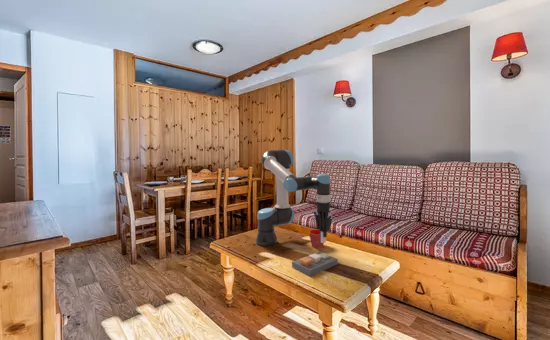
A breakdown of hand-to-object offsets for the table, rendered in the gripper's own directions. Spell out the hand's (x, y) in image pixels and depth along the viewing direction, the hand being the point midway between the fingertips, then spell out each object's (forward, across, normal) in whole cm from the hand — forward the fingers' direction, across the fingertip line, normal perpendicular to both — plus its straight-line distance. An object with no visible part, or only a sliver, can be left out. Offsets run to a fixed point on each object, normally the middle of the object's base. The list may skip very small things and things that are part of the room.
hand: (323, 242), depth 150 cm
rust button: (+9, 0, -14) cm, 17 cm away
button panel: (+12, 0, -7) cm, 14 cm away
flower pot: (+12, -20, +16) cm, 28 cm away
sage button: (+11, 0, 0) cm, 11 cm away
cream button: (+9, 0, -7) cm, 12 cm away
